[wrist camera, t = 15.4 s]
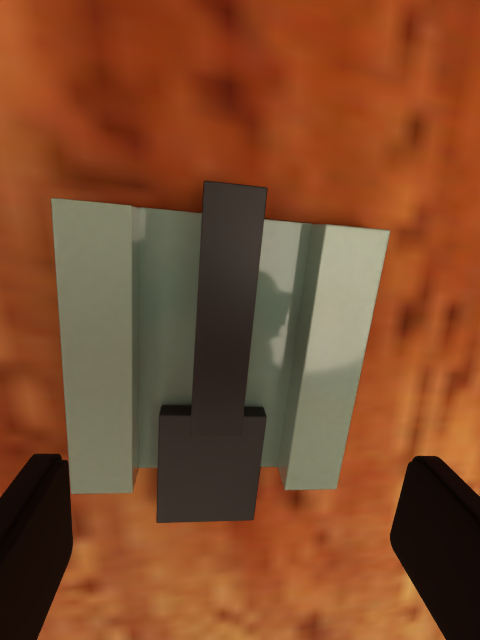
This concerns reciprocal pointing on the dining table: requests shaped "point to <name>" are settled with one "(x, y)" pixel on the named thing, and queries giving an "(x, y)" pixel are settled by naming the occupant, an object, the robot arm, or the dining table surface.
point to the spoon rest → (179, 337)
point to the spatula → (218, 373)
